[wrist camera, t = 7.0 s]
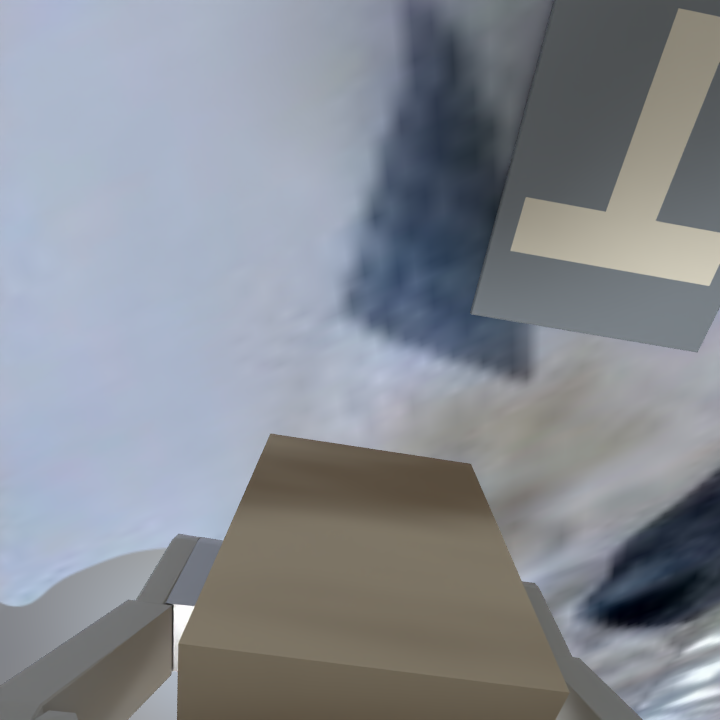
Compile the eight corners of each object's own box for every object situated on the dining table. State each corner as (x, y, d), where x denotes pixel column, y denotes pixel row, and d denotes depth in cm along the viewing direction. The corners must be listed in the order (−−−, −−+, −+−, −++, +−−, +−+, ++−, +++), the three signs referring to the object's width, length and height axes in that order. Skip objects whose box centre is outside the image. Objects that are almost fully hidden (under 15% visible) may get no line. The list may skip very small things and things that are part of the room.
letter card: (581, -103, 15) (586, -110, 14) (880, -37, 15) (891, -42, 15) (470, 312, 20) (471, 314, 20) (692, 350, 21) (697, 352, 20)
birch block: (270, 433, 10) (178, 643, 5) (470, 463, 10) (570, 693, 5) (255, 584, 11) (175, 850, 6) (426, 607, 11) (469, 879, 7)
